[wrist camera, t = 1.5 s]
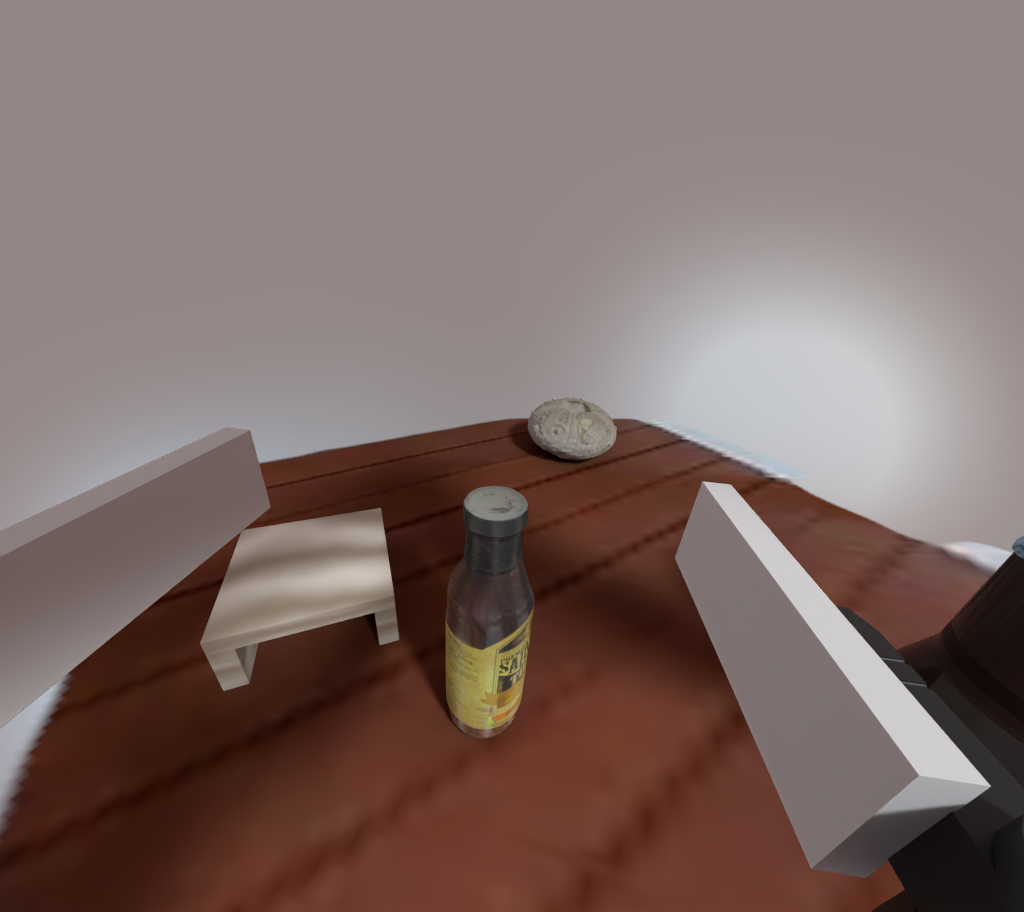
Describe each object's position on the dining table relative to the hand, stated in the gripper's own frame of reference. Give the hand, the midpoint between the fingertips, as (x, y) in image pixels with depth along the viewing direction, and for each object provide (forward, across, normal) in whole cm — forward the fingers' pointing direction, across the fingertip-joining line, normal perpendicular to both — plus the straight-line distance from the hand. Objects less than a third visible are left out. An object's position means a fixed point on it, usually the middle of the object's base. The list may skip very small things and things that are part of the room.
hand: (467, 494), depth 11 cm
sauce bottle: (+9, 0, -26) cm, 28 cm away
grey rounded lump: (+60, +9, -26) cm, 66 cm away
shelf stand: (+16, -18, -26) cm, 36 cm away
